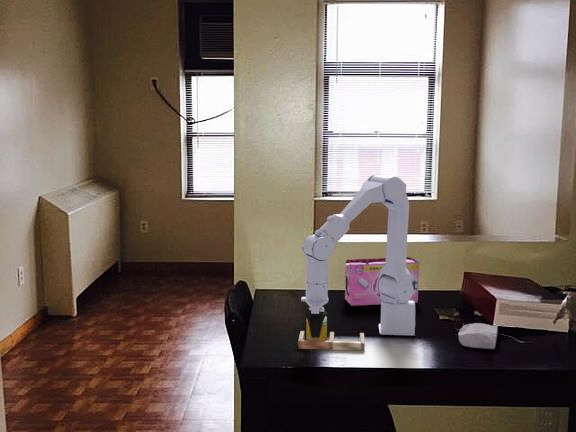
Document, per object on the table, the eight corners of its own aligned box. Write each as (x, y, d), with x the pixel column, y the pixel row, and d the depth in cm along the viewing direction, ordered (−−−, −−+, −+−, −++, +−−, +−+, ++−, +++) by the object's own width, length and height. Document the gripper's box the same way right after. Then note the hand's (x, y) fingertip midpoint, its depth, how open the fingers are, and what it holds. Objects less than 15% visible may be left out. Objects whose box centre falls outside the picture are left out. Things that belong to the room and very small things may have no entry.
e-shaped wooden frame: (363, 340, 171) (363, 333, 170) (364, 350, 163) (364, 343, 163) (300, 338, 172) (300, 330, 172) (298, 348, 164) (298, 341, 164)
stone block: (458, 353, 167) (498, 350, 163) (455, 335, 167) (495, 332, 163) (462, 340, 178) (499, 337, 175) (459, 323, 178) (497, 320, 174)
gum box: (347, 306, 202) (347, 264, 200) (340, 299, 209) (341, 259, 207) (418, 302, 206) (419, 261, 204) (409, 296, 214) (410, 256, 212)
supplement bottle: (325, 347, 165) (325, 311, 164) (304, 346, 166) (304, 310, 165) (327, 340, 170) (328, 305, 169) (308, 339, 171) (308, 304, 170)
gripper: (303, 274, 172) (303, 322, 174) (299, 288, 158) (299, 341, 160) (329, 275, 172) (328, 323, 174) (327, 289, 157) (327, 342, 159)
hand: (316, 332), depth 167 cm, fingers open, 7 cm apart
